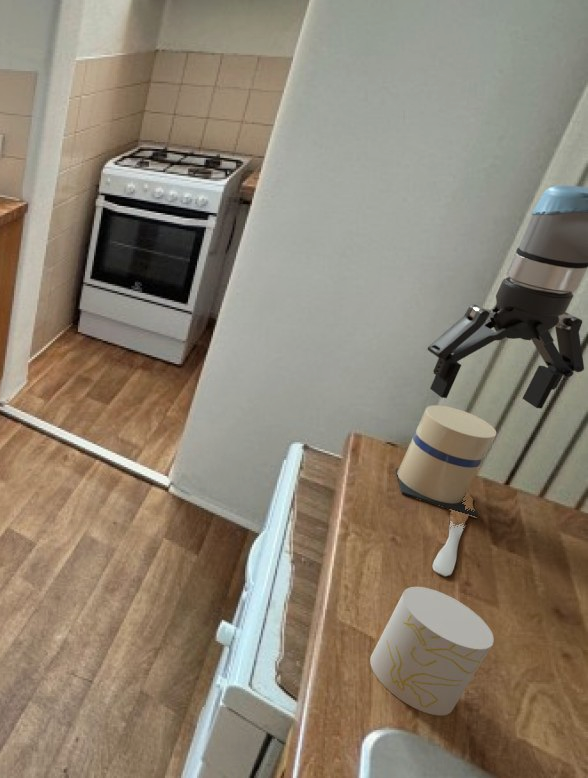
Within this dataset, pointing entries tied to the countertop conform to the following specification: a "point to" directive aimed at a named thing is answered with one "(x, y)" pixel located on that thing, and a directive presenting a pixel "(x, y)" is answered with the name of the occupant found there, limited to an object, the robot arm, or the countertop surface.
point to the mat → (453, 506)
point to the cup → (430, 650)
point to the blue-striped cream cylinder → (445, 453)
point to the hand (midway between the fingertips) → (484, 398)
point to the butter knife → (448, 552)
